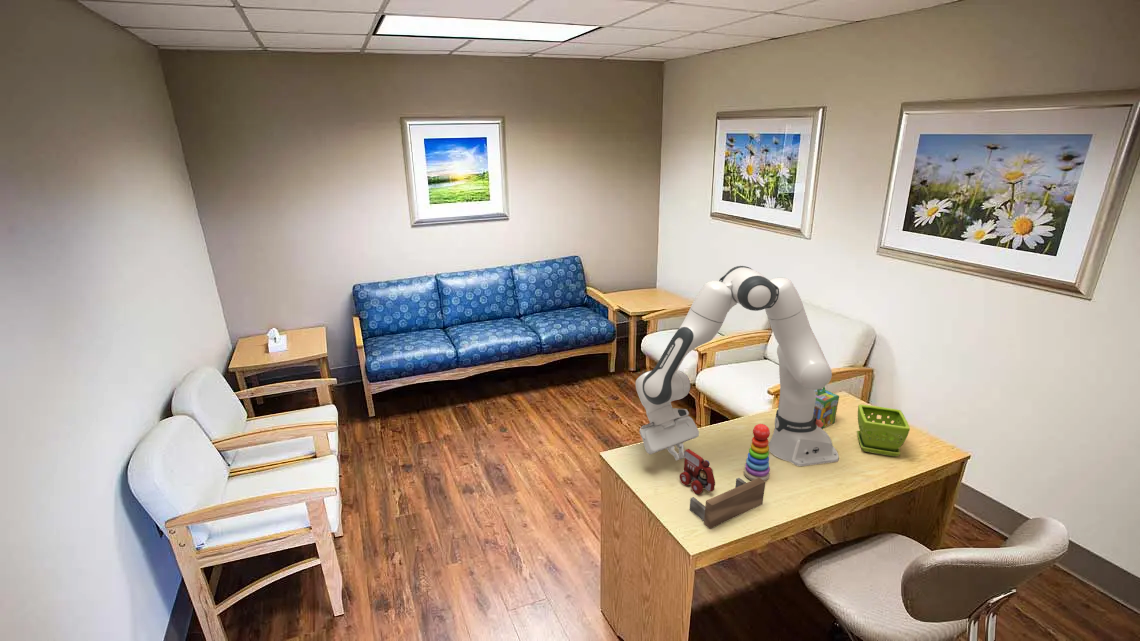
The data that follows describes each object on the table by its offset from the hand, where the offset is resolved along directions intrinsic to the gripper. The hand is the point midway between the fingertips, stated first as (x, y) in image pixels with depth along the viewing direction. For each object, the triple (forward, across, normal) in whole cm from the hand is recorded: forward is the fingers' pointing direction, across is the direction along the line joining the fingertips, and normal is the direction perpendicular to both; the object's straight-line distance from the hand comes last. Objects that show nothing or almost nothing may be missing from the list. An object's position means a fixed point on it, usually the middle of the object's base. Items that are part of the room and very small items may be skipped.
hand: (680, 458), depth 178 cm
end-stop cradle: (+18, 0, -11) cm, 21 cm away
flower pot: (+20, +68, -13) cm, 73 cm away
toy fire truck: (+10, 0, -2) cm, 10 cm away
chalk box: (+5, +66, +3) cm, 66 cm away
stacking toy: (+14, +20, -6) cm, 25 cm away
